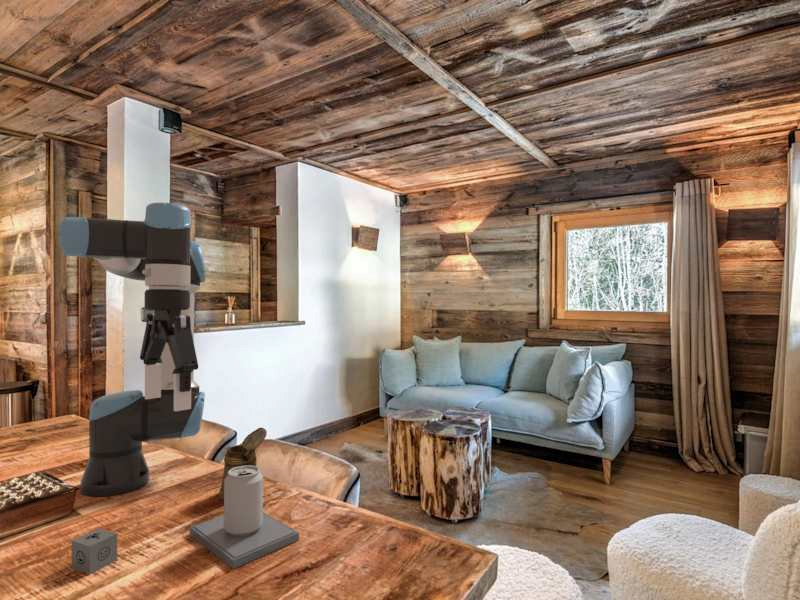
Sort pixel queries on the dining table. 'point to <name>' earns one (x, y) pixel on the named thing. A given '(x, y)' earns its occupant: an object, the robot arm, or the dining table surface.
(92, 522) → the dining table surface
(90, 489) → the robot arm
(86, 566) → the dice cube
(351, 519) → the dining table surface
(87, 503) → the dining table surface
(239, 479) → the can
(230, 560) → the slate board
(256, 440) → the wooden mug
